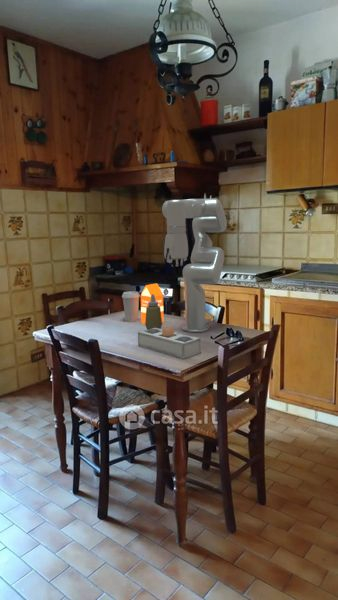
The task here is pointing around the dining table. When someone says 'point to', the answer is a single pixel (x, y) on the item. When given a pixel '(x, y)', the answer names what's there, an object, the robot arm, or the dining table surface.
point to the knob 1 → (152, 331)
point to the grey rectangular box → (170, 344)
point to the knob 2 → (184, 339)
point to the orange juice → (147, 298)
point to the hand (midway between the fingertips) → (177, 275)
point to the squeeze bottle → (153, 314)
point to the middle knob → (167, 332)
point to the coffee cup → (131, 305)
